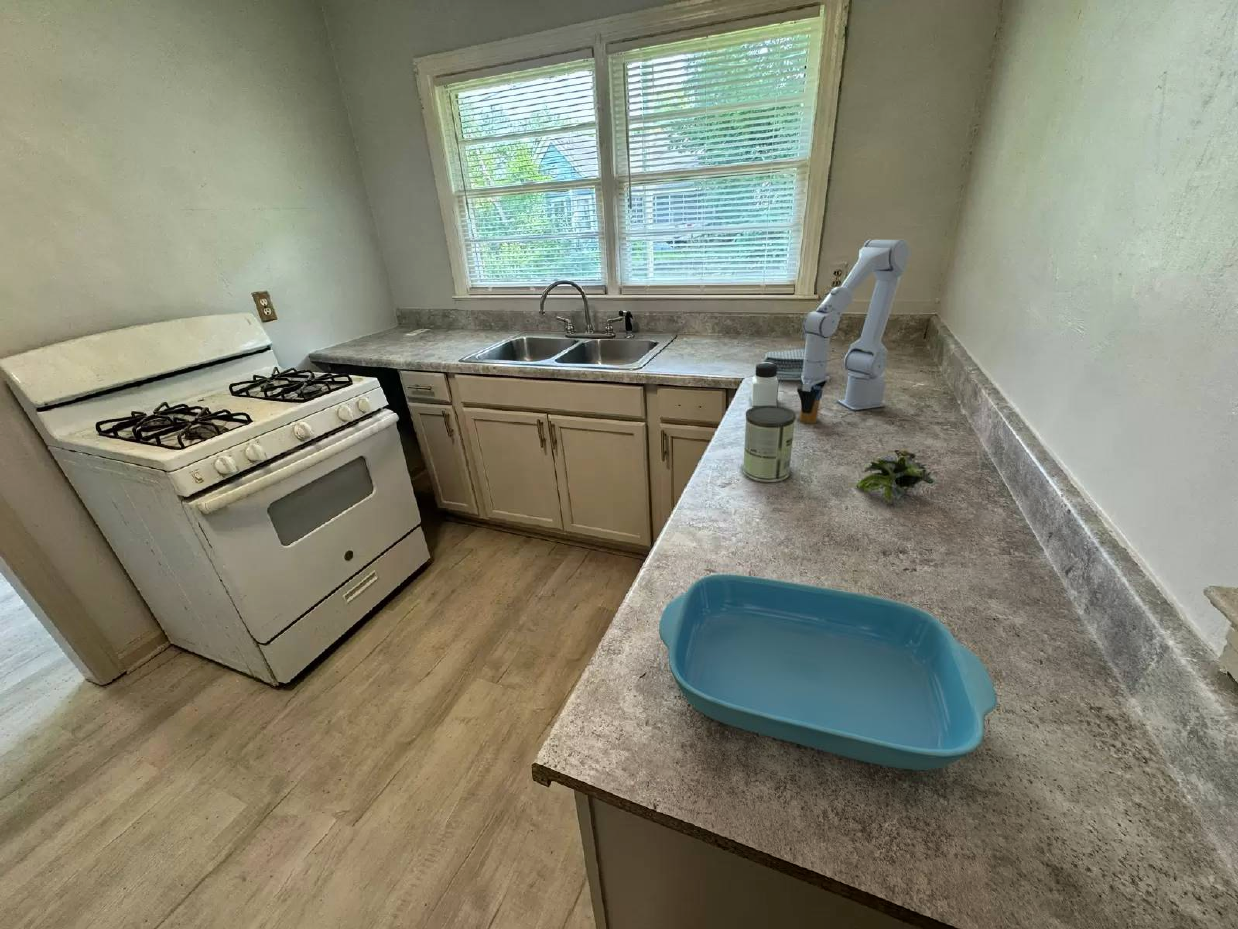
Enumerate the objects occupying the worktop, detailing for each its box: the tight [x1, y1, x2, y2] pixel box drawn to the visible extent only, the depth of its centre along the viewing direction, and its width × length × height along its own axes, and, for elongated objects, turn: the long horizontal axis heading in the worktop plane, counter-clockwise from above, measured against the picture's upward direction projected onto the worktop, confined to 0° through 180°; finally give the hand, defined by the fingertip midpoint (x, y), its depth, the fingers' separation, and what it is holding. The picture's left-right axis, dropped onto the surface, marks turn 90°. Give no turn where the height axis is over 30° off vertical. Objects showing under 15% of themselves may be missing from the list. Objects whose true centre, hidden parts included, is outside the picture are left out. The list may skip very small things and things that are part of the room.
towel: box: [761, 348, 805, 382], centre depth 171 cm, size 15×18×8 cm
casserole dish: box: [658, 573, 998, 771], centre depth 60 cm, size 37×22×7 cm, turn 72°
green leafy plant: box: [856, 449, 935, 506], centre depth 98 cm, size 11×11×12 cm
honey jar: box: [798, 399, 821, 424], centre depth 134 cm, size 5×5×9 cm
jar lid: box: [813, 385, 823, 400], centre depth 132 cm, size 5×5×2 cm
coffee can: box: [742, 405, 797, 483], centre depth 108 cm, size 10×10×14 cm
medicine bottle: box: [750, 361, 779, 407], centre depth 147 cm, size 7×7×12 cm
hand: (809, 408), depth 134 cm, fingers open, 6 cm apart
